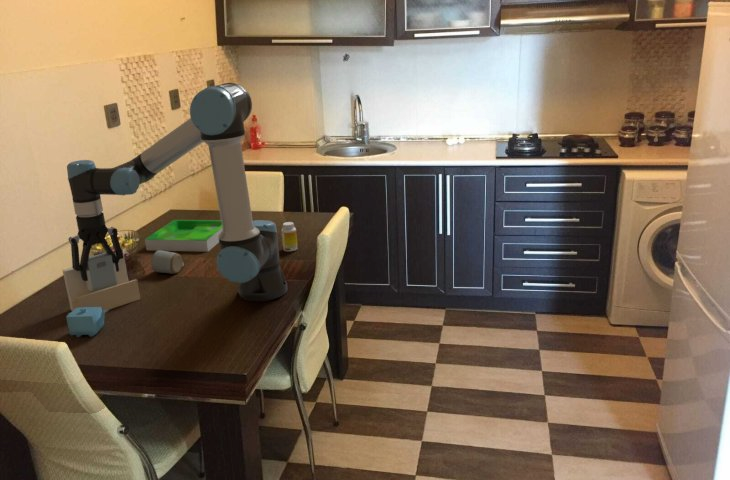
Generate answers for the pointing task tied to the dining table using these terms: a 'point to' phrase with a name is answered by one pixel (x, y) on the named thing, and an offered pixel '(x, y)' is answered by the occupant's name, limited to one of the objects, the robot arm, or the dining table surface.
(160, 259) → the grey cylinder
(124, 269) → the board
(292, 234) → the supplement bottle
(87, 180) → the robot arm
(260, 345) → the dining table surface
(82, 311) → the light blue rounded block
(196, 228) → the tray
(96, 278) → the grey block
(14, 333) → the dining table surface
